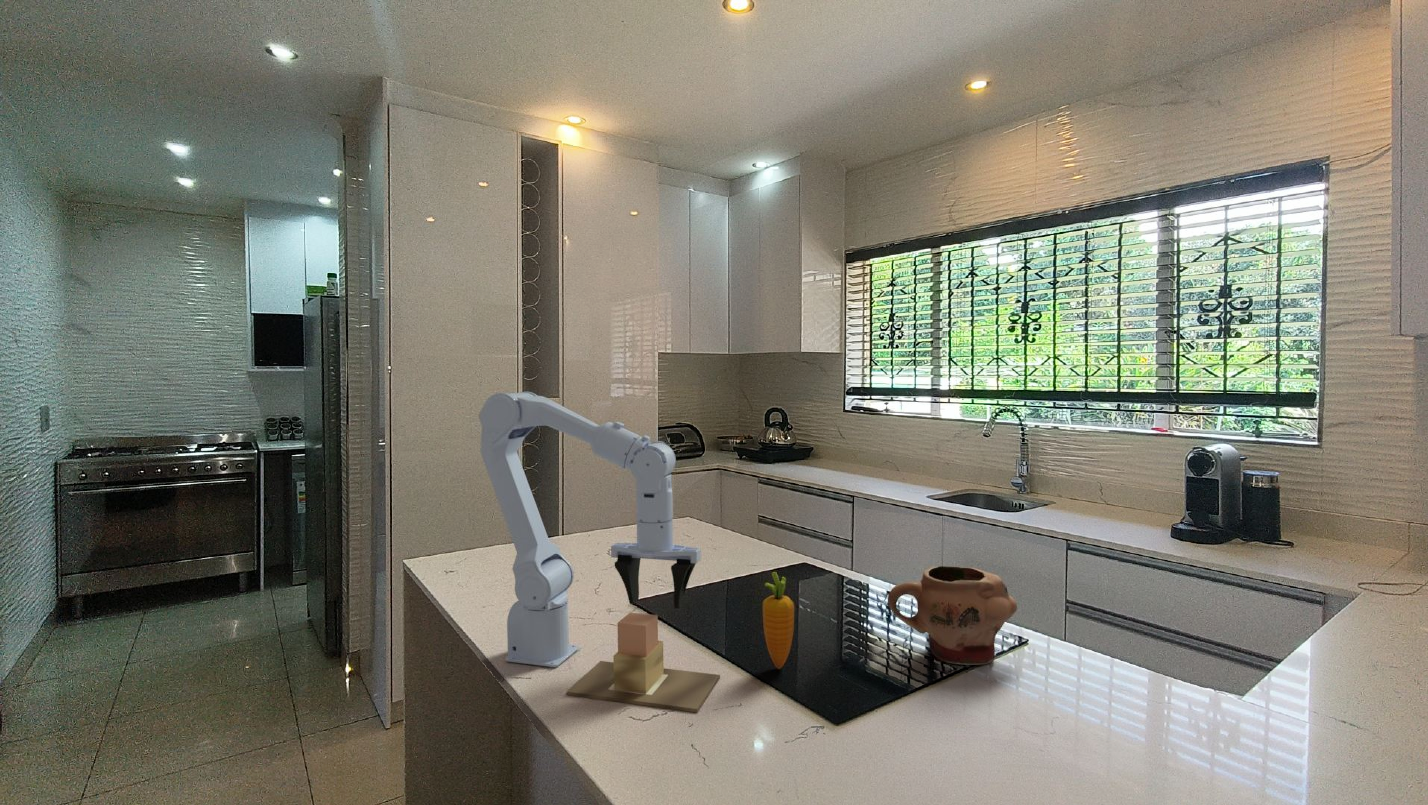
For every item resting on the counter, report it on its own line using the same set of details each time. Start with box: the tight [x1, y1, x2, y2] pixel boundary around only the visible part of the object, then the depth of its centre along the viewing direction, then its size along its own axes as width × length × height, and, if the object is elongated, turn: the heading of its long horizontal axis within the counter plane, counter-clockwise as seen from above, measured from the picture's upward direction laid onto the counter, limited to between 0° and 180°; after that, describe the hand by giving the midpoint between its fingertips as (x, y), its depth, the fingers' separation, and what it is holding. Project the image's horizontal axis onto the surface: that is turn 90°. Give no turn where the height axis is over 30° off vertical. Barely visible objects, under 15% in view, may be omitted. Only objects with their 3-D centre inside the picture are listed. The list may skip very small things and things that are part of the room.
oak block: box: [612, 640, 664, 694], centre depth 102 cm, size 5×7×5 cm
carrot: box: [762, 571, 795, 670], centre depth 107 cm, size 5×5×15 cm
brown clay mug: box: [887, 565, 1018, 666], centre depth 111 cm, size 20×12×14 cm, turn 89°
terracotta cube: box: [616, 612, 659, 656], centre depth 102 cm, size 4×4×4 cm
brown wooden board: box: [566, 660, 721, 714], centre depth 102 cm, size 20×11×1 cm, turn 73°
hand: (656, 604), depth 109 cm, fingers open, 7 cm apart
